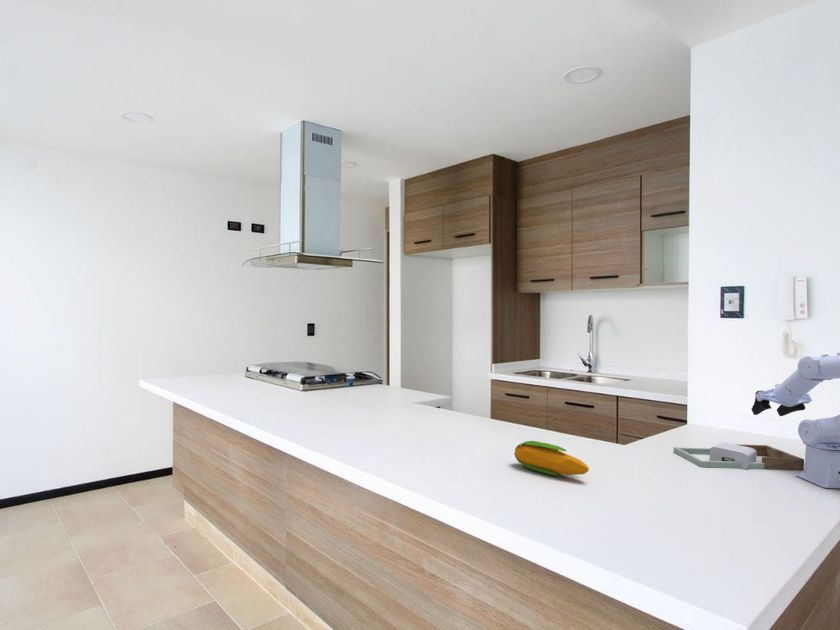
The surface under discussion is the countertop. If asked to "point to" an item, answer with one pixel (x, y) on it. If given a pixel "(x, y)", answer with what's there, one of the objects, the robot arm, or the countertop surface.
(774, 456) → the brown wooden u-shaped frame
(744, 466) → the charger
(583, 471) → the corn
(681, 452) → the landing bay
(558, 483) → the countertop surface
